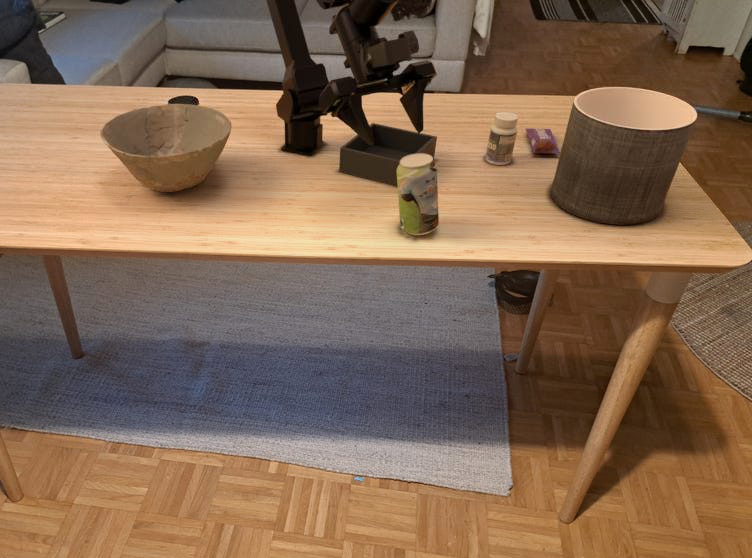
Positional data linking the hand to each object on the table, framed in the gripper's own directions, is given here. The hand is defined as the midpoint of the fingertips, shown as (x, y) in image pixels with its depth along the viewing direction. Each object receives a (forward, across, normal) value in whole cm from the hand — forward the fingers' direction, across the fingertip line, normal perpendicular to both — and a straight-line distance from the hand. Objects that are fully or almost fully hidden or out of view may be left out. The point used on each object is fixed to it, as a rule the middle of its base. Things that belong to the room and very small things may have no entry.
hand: (396, 137), depth 105 cm
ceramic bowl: (-12, -28, +30) cm, 42 cm away
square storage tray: (-1, +9, +19) cm, 22 cm away
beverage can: (+14, 0, +4) cm, 15 cm away
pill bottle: (+5, +29, +14) cm, 32 cm away
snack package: (+4, +40, +14) cm, 43 cm away
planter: (+20, +34, -1) cm, 39 cm away
